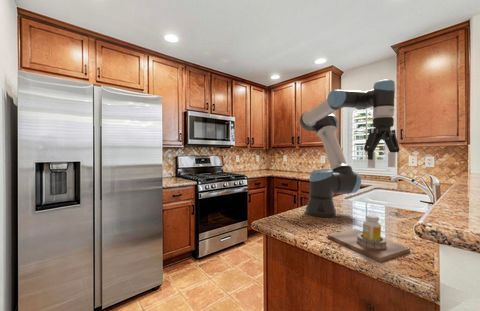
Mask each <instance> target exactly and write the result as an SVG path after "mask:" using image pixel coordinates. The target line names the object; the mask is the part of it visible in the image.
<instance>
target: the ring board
mask: <svg viewBox="0 0 480 311" xmlns="http://www.w3.org/2000/svg"><path fill="white" fill-rule="evenodd" d="M327 238H328V239H329V240H331V241H333V242H335V243H338V244H340V245H342V246H344V247H347V248H349V249H351V250H353V251H355V252H357V253H360V254H361V255H364V256H367V257H369V258H371V259H373V260H375V261H377V262H383V261H387V260H389V259H392V258H393V259H394V258H395V257H399V256H403V255H405V254H408V253H410V252H411V248H410V247H407V246H405V245H402V244H399V243H396V242H393V241H391V240H388V239H387V238H385V237H383V236H381V237H380V241H370V240H367V239H364V238H363V230H360V229H357V228H353V229H348V230H345V231H344V230H342V231H338V232H333V233H330V234H328V233H327Z"/></svg>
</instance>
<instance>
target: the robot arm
mask: <svg viewBox="0 0 480 311" xmlns="http://www.w3.org/2000/svg"><path fill="white" fill-rule="evenodd" d="M395 93H396V85H395V80H393V79H381V80H378V81H376V82H374V83H373V89H370V90H366V91H362V90H345V89H333V90H331V91H329V93H328V95H327V97H326V98H327V99H325V100H323V101H322V102H321V103H319V104H318V105H316V106H315V107H313V108H311V109H310V110H306V111H304V112H303V113H302V114H301V115H300V118H299V124H300V126H301V129H303V130H305V131H308V132H316V134H317V137H319V138H320V139H321V142H322V145H323V149H324V150H325V154H326V157H327V160H328V163H329V166H330V169H329V168H328V169H327V168H325V169H315V170H312V171H310V174H309V179H308V180H309V197H308V198H309V199H308V202H307V204H306V207H305V213H306V214H307V215H309V216H313V217H319V218H333V217H334V218H335V217H336V216H337V210H336V208H335V204H334V200H333V199H334V196H333V195H336V194H337V195H339V194H342V195H345V194H349V195H350V194H355V193H357V192H359V190H360V188H361V186H362V177H361V176H360V175H361V174H360V173H359V172H356V171H353V169H352V166H351V165H349V164H348V163H347V160H346V159H345V158H346V157H345V156H344V153H343V150H342V148H341V146H340V143H339V140H338V137H337V135H336V132H337V129H338V126H339V125H338V123H339V122H338V119H337V116H336V115H334V113H336V112H337V111H339V110H341V109H342V108H352V109H353V108H355V109H356V110H358V111H359V110H360V111H361V110H366V109H369V108H372V127H373V128H369V132H368V136H367V139H366V141H365V143H364V146H363V150H364V152H365V153H367V168H371V169H373V168H374V169H375V168H376V152H375V150H376V149H377V146H378V145H379V143H380V141H383V142H385V145H386V147H387V149H388V151H387V152H388V153H387V167H388V168H395V167H396V156H397V154H396V153H399V151H400V147H399V143H398V140H397V139H398V138H397V135H396V134H397V132H396V129H391V128H392V127H394V122H395V121H394V120H395V118H394V115H395V97H396V96H395Z"/></svg>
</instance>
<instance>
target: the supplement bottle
mask: <svg viewBox="0 0 480 311" xmlns="http://www.w3.org/2000/svg"><path fill="white" fill-rule="evenodd" d="M379 221H380V216H379V215H376V214H370V213H369V214H365V220H364V221H363V223H362V231H363V238H364V239H367V240H370V241H380V237H381V235H382V225H381V222H379Z"/></svg>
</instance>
